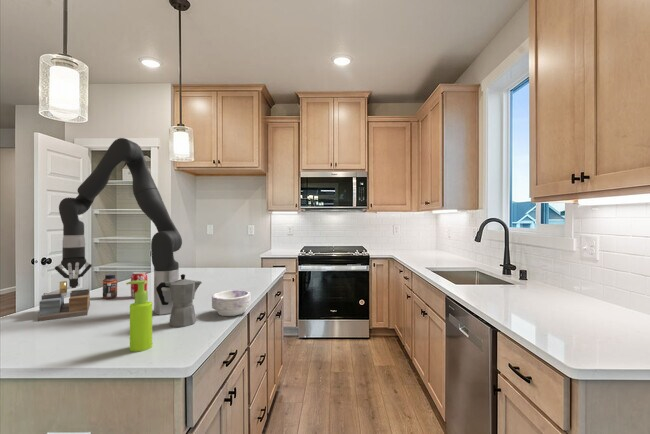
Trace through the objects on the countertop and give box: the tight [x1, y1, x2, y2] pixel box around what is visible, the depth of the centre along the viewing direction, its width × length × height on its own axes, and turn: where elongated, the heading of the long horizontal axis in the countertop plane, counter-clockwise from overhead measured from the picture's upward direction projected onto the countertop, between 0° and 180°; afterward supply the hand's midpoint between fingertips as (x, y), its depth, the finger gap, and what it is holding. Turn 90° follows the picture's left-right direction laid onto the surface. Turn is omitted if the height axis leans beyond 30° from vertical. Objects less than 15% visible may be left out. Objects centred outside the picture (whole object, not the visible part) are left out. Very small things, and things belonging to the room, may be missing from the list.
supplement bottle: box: [102, 273, 118, 300], centre depth 162 cm, size 6×6×11 cm
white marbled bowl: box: [211, 289, 252, 317], centre depth 137 cm, size 15×15×8 cm
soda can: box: [130, 271, 148, 299], centre depth 164 cm, size 7×7×12 cm
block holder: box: [37, 288, 91, 322], centre depth 138 cm, size 20×15×8 cm
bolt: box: [43, 280, 68, 298], centre depth 136 cm, size 3×7×6 cm, turn 122°
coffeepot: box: [156, 273, 203, 328], centre depth 123 cm, size 15×9×18 cm, turn 116°
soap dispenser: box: [125, 280, 153, 352], centre depth 101 cm, size 6×7×20 cm
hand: (73, 287), depth 140 cm, fingers closed
